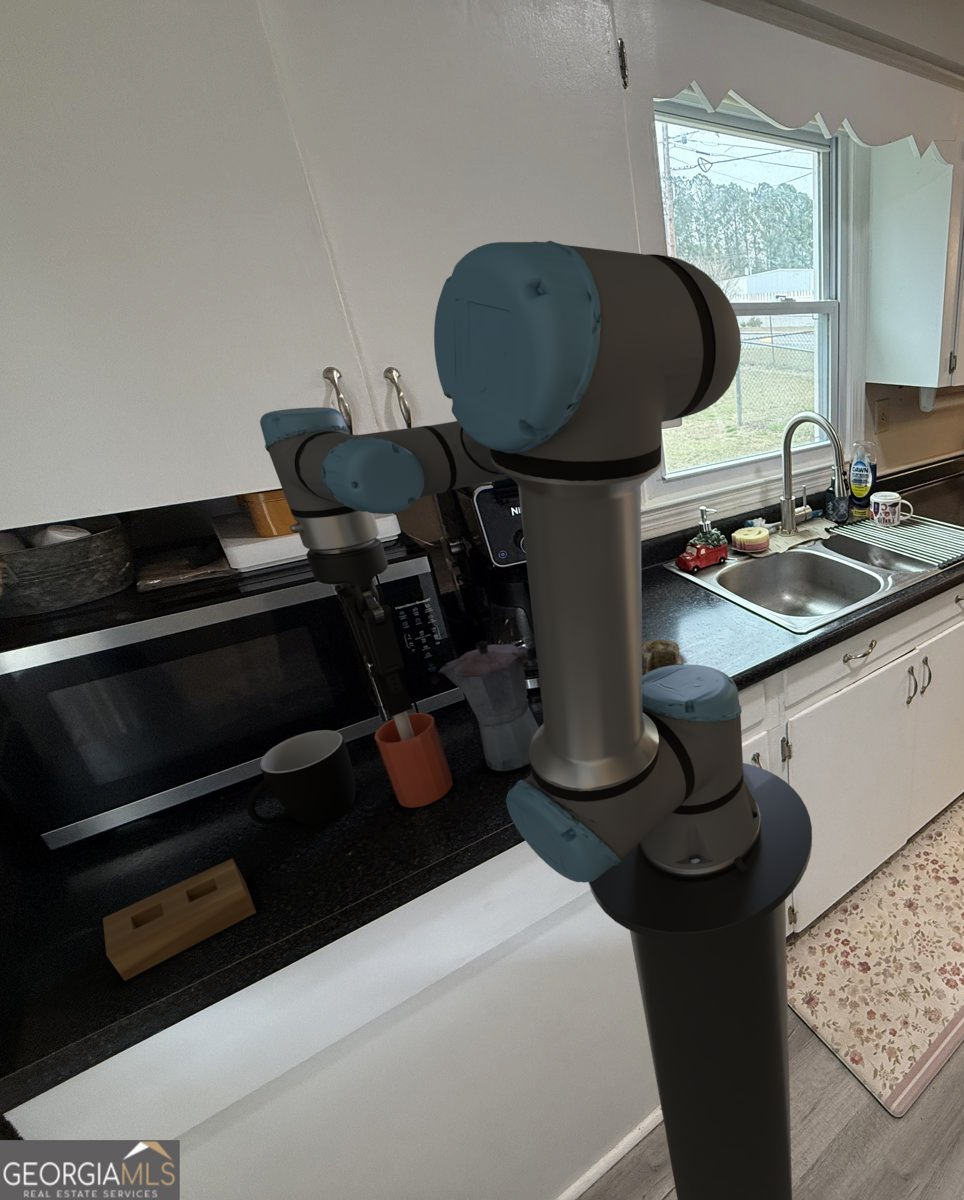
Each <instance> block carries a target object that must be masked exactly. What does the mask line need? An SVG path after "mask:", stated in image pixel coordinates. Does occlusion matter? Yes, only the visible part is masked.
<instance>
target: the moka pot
mask: <svg viewBox="0 0 964 1200" xmlns="http://www.w3.org/2000/svg"><path fill="white" fill-rule="evenodd" d="M475 647H476V649H473V650H471V651H470V650H469V651H467V652H465V653H464V654H462V655H461V656H460V657H459V658H457V659H453V660H451V661H448V662H447V663H445V665H443V666H442V667H440V669H439V671H438V673H439V674H442V675H445V677H446V678H447V679H448V680H450V681H451V682H452V683H453V684H454V685H455V686H456V687H457V689H459V690H460V691H461V692H462V693H463V695H464V696H465V698H466V700H467V702H468V704H469V706H470V708H471V710H472V712H473V713H474V714H475V718H476V719H477V721H478V726H479V727H478V728H479V731H480V738H481V743H482V749H483V755H484V759H485V762H486V765H487V766H488V768H489V769H491V770H494V771H498V772H510V771H513V770H518V769H521V768H523V767H526V766H528V765H530V760H529V747H530V743H531V740H532V738H533V736H534V734H535V733H536V731H537V730H538V729H539V728H540V726H539V725H538V723H537V720H536V719H535V717H534V715H533V712H532V711H531V709H530V707H529V699H528V698H527V697H528V688H527V682H526V681H527V680H526V674H525V667H524V663H528V662H532V661H534V660H535V659H537V654H536V645H534V646H531V647H529V648H528V647H524V648H517V646H516V645H515V644H488V641H487V640H482V641H478V642H477V643H475ZM531 700H532V703H534V704H539V703H542V701H541V695H539V696H534V697H533V698H532V699H531Z"/></svg>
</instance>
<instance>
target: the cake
mask: <svg viewBox="0 0 964 1200" xmlns="http://www.w3.org/2000/svg"><path fill="white" fill-rule="evenodd" d="M671 665H684V658H683V656H682V655H680V647H679V644H678V643H677V642H676V641H672V640H669V639H655V640H648V641H645V642H642V675H644V674H646V673H648V672H650V671H652V670H655V669H658V668H661V667H666V666H671Z"/></svg>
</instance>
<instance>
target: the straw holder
mask: <svg viewBox="0 0 964 1200" xmlns="http://www.w3.org/2000/svg"><path fill="white" fill-rule="evenodd" d="M256 913H257V910H256V907H255V904H254V902H253V899H252V896H251V893H250V891H249V888H248V885H247V882H246V880H245V879H244V876H243V875H242V873H241V871H240V869H239V867H238V865H237V863H236V861H235V859H234V858H232V857H231V858H229V859H228V860H225V861H223V862H221V863H219V864H217V865H215V866H212V867H210V868H208V869H205V870H204V871H202V872H200V873H198V874H196V875H193V876H191V877H189V878H187V879H184V880H182V881H180V882H178V883H176V884H174V885H172V886H170V887H167V888H166V889H163V890H161V891H159V892H157V893H153V894H152V895H150V896H148V897H146V898H144V899H142V900H140V901H137V902H135V903H133V904H130V905H128V906H126V907H124V908H122V909H120V910H118V911H115V912H114V913H111V914H109V915H107V916H105V917H103V918H102V924H103V933H104V944H105V954H106V957H107V959H108V960H109V961H110V963H111V965H112V966H113V967H114V968H115V969H116V972H118V974H119V975H120V978H122V980H123V981H124V982H125V981H128V980H130V979H132V978H134V977H135V976H137V975H139V974H141V973H143V972H145V971H147V970H149V969H151V968H153V967H155V966H157V965H159V964H161V963H162V962H164V961H166V960H168V959H170V958H172V957H174V956H176V955H177V954H180V953H182V952H183V951H186V950H187V949H189V948H191V947H193V946H195V945H197V944H199V943H201V942H202V941H204V940H207V939H209V938H210V937H213V936H215V935H216V934H218V933H220V932H222V931H223V930H225V929H228V928H230V927H231V926H233V925H235V924H238V923H240V922H241V921H243V920H244V919H247V918H248V917H250V916H252V915H255V914H256Z"/></svg>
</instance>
